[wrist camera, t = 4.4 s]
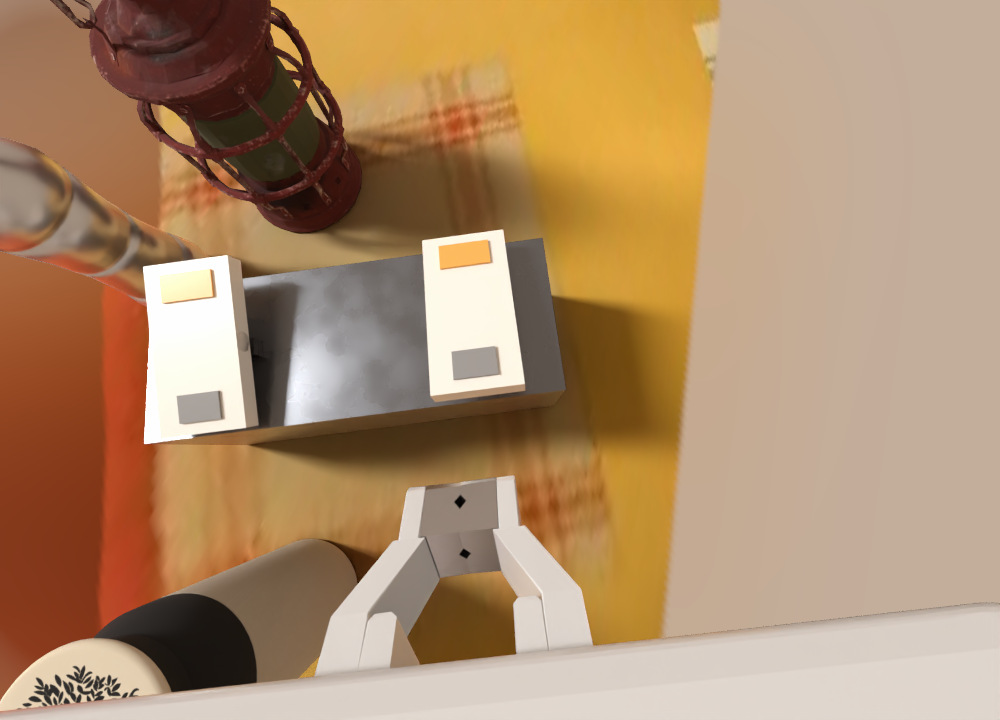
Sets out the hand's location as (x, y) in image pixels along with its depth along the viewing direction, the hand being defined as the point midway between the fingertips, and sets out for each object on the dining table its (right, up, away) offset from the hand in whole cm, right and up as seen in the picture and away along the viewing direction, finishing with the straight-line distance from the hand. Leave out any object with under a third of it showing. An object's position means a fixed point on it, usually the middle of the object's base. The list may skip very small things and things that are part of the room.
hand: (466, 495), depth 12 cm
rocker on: (-1, +7, +13) cm, 14 cm away
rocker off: (-17, +5, +13) cm, 22 cm away
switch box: (-8, +3, +25) cm, 26 cm away
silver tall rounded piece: (-27, +11, +27) cm, 40 cm away
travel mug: (-14, -14, +21) cm, 29 cm away
